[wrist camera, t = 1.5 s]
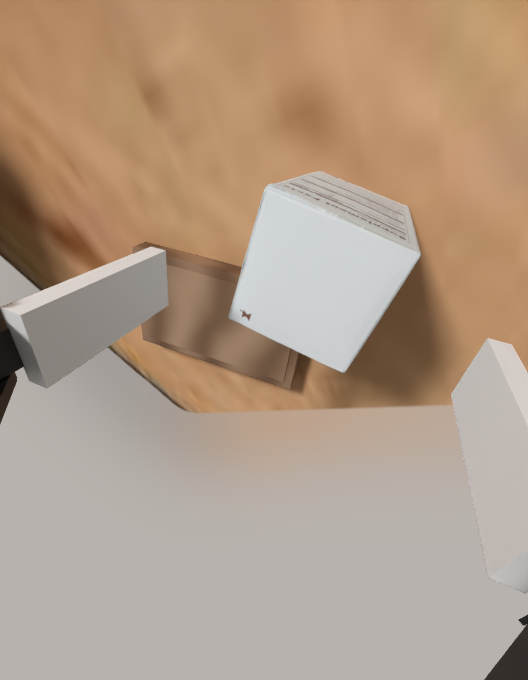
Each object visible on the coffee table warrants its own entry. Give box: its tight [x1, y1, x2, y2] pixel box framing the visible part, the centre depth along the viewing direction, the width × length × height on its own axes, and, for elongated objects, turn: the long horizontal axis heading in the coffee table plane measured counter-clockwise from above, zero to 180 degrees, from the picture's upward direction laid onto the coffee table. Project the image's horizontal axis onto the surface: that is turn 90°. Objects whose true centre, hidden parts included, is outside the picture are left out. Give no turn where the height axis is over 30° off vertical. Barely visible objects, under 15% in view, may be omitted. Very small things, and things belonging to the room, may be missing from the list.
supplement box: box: [228, 171, 421, 373], centre depth 20 cm, size 7×7×13 cm
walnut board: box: [133, 242, 300, 390], centre depth 32 cm, size 18×11×2 cm, turn 81°
